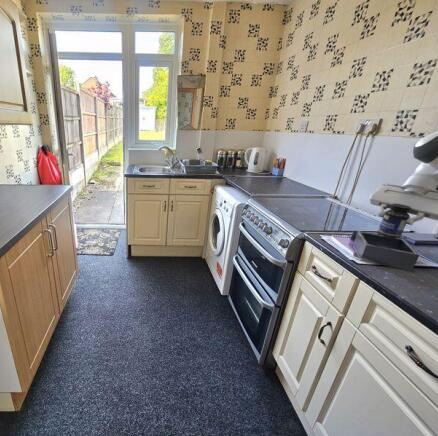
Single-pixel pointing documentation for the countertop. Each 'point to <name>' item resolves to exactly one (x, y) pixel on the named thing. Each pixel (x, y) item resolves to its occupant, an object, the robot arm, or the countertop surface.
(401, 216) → the pill bottle
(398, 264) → the dark grey square box
